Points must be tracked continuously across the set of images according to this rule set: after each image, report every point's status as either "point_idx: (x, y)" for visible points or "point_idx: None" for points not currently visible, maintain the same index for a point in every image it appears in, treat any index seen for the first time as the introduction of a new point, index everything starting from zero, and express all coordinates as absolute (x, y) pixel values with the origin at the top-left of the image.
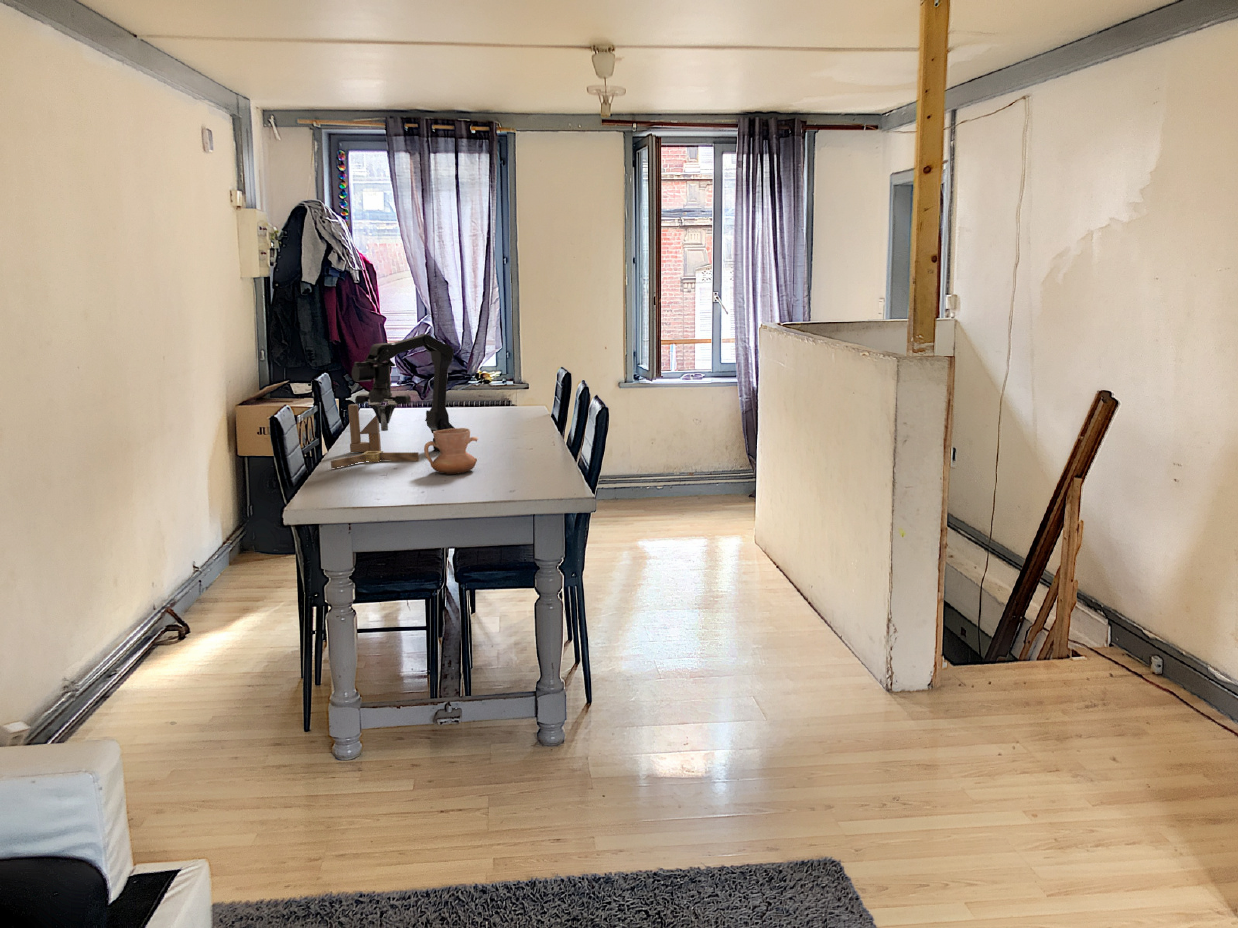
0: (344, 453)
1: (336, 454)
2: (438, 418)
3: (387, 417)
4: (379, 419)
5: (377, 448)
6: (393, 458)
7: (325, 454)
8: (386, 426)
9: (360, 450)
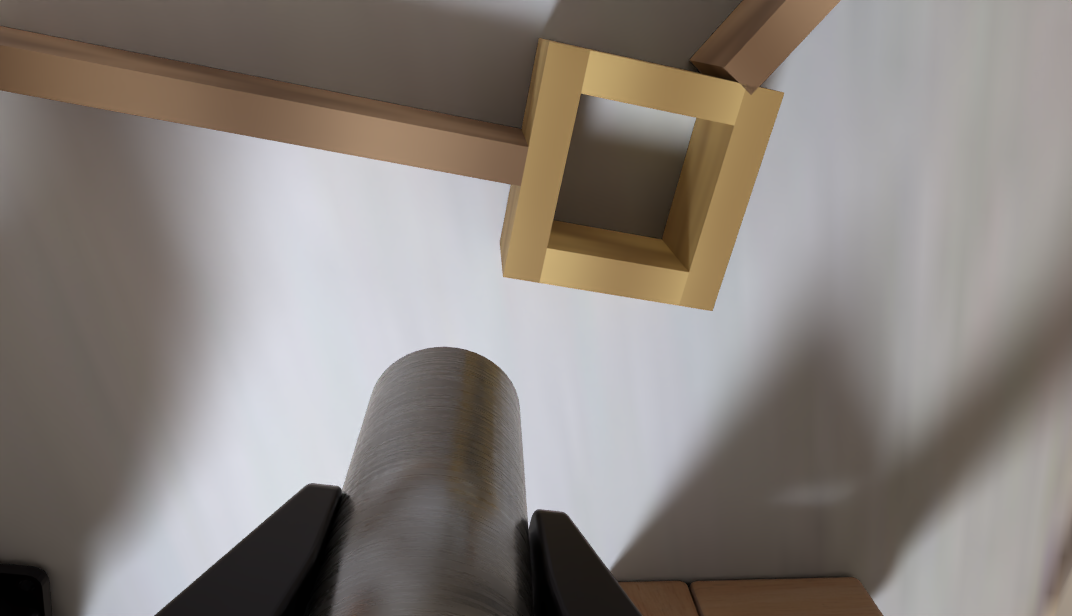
0: (906, 578)
1: (976, 547)
2: None
3: (243, 605)
4: (567, 580)
5: None
6: (339, 96)
7: (1065, 557)
8: (372, 424)
9: (777, 594)
